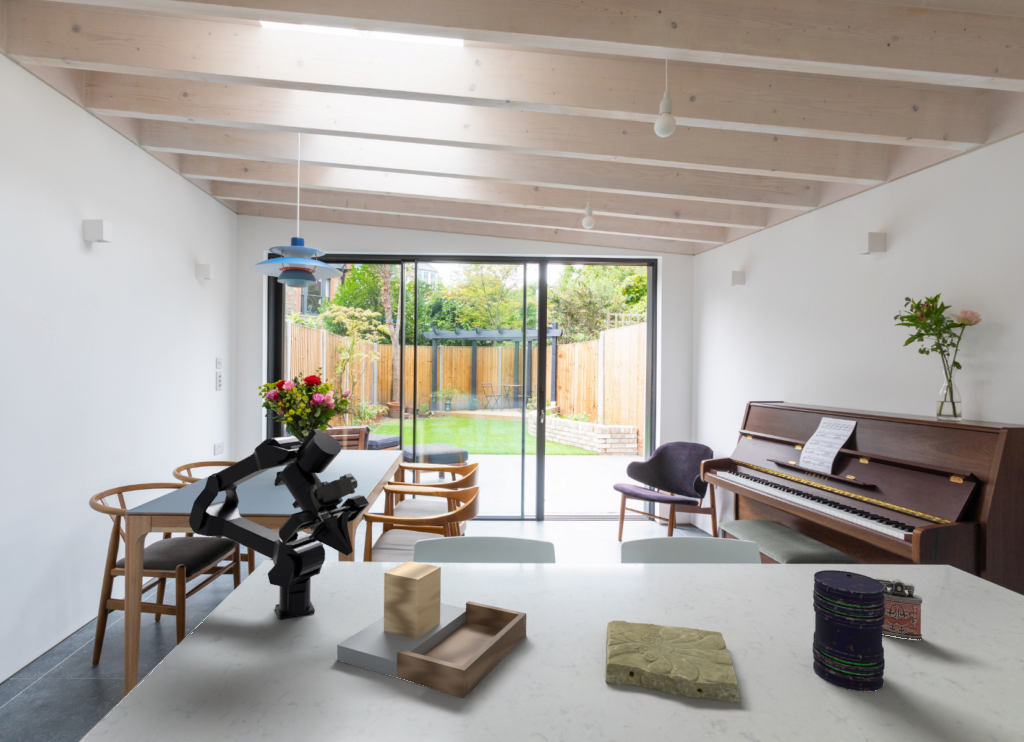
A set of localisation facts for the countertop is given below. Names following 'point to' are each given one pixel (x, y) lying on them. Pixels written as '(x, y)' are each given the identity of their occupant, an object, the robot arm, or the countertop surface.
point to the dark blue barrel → (848, 630)
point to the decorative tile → (670, 660)
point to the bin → (465, 651)
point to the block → (412, 599)
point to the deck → (395, 642)
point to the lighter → (901, 610)
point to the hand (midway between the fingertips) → (350, 553)
